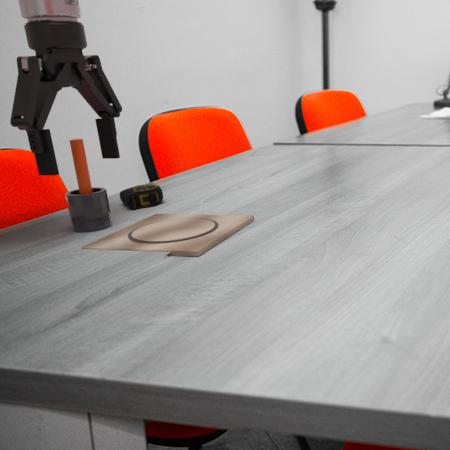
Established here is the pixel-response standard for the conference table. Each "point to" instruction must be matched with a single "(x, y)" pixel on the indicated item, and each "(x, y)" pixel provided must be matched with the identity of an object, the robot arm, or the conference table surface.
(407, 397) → the conference table surface
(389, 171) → the conference table surface
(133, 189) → the tape measure
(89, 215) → the pen pot
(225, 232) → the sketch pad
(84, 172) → the marker pen
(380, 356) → the conference table surface
